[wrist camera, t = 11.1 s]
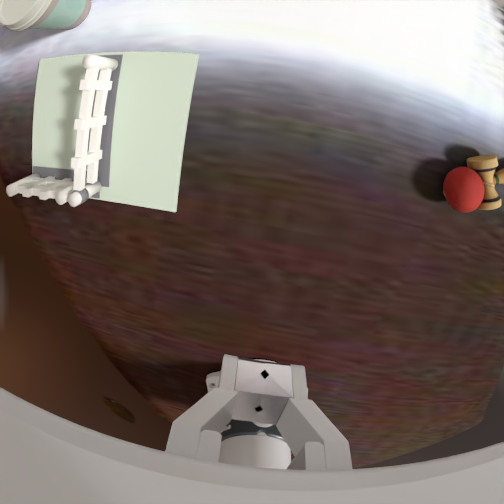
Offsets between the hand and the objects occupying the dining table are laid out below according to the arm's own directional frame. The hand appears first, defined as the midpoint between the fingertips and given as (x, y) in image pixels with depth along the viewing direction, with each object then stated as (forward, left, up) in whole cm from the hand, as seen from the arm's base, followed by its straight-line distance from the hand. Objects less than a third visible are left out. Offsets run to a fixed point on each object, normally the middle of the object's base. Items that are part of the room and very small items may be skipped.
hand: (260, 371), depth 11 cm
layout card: (+4, +22, -29) cm, 37 cm away
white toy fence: (+4, +22, -28) cm, 36 cm away
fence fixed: (-4, +29, -29) cm, 41 cm away
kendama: (+9, -30, -30) cm, 43 cm away
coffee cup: (+21, +30, -29) cm, 47 cm away
